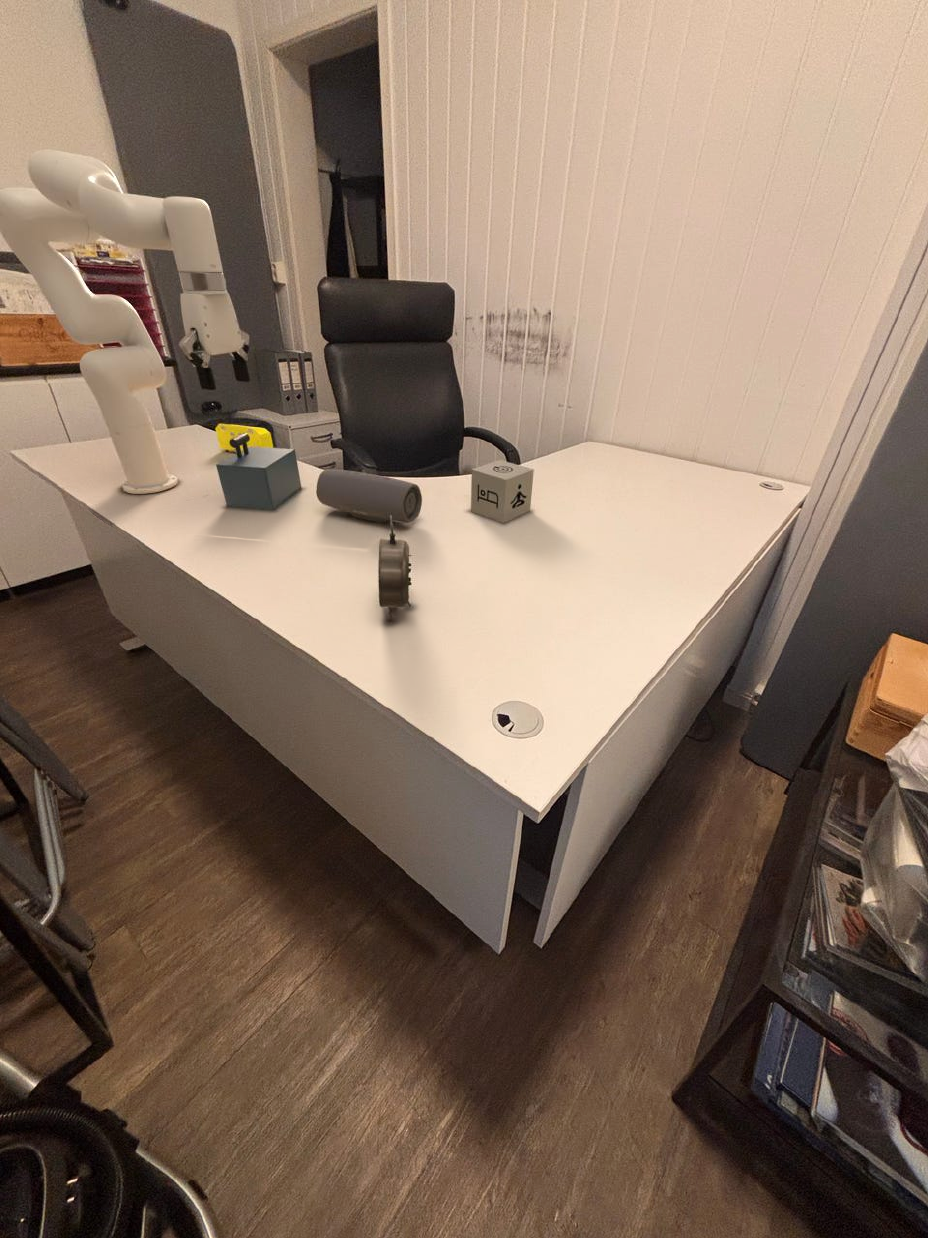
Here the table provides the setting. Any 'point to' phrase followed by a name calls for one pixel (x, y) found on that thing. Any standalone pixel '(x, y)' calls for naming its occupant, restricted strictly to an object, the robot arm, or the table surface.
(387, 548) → the alarm clock
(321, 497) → the bluetooth speaker
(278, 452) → the blue-grey square box
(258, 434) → the yellow toy chassis
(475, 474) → the icon cube
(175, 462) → the table surface
